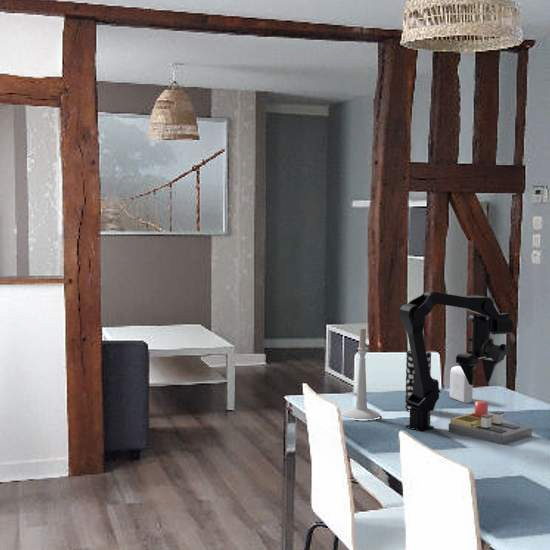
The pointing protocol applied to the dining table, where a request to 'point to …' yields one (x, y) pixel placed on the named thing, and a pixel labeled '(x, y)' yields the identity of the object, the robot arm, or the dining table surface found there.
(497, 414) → the block
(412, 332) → the robot arm
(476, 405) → the red rounded cylinder
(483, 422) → the block
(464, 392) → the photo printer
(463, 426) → the panel
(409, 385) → the white-spotted black cylinder
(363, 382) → the candlestick
